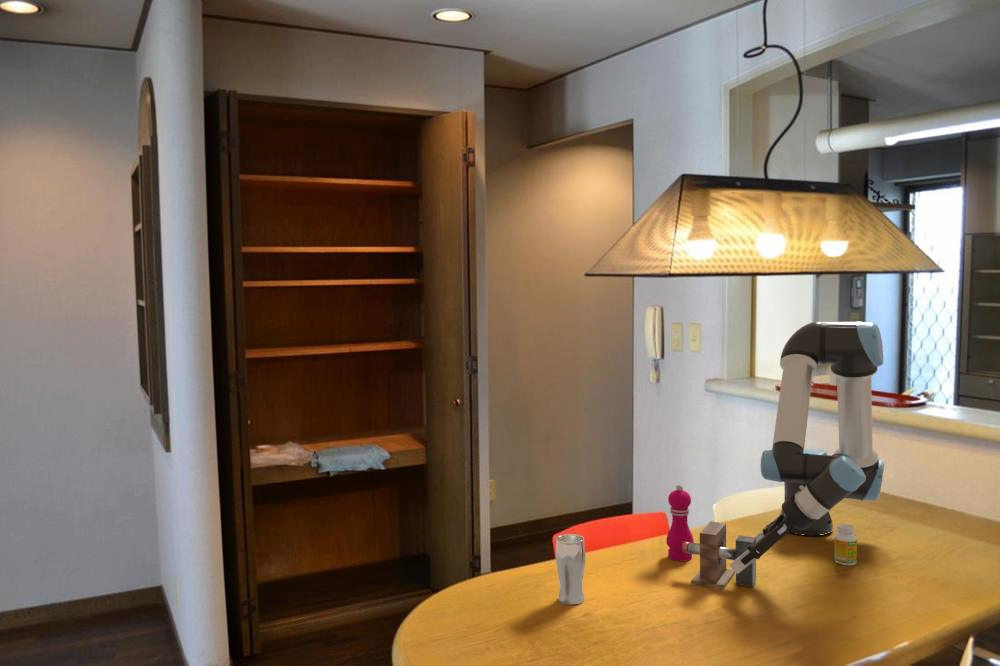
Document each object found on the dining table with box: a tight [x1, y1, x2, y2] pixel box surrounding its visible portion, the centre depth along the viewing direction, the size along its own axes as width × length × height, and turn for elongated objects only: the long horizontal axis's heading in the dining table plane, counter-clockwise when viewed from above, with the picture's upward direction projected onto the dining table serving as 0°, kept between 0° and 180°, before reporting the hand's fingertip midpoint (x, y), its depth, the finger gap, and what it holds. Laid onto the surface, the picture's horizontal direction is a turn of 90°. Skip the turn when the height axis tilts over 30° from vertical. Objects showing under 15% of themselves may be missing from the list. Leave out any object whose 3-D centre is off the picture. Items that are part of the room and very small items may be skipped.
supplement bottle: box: [833, 523, 858, 566], centre depth 205 cm, size 5×5×10 cm
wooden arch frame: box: [690, 520, 736, 591], centre depth 196 cm, size 8×12×13 cm, turn 150°
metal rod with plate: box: [682, 535, 757, 588], centre depth 196 cm, size 18×4×11 cm, turn 60°
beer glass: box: [555, 533, 586, 606], centre depth 186 cm, size 7×7×15 cm
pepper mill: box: [665, 484, 695, 562], centre depth 212 cm, size 7×7×20 cm
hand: (739, 560), depth 193 cm, fingers open, 13 cm apart
